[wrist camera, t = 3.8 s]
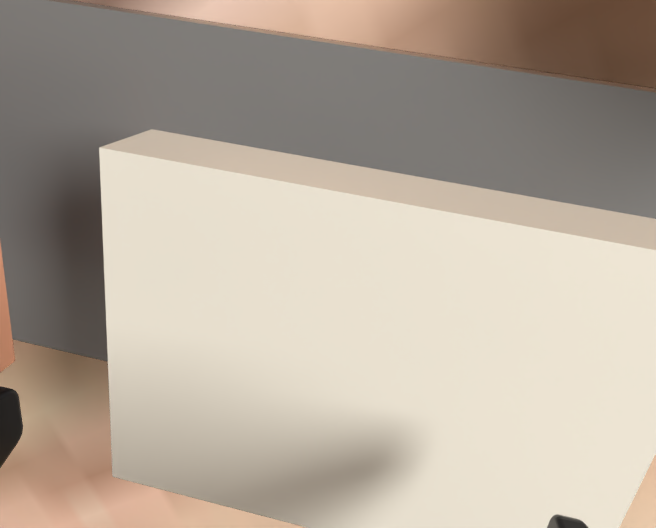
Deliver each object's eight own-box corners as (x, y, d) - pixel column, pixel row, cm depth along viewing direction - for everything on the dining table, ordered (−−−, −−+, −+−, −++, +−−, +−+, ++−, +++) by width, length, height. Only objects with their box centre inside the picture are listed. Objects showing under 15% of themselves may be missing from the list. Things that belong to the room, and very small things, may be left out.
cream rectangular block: (554, 480, 15) (583, 599, 12) (176, 390, 16) (112, 476, 13) (665, 203, 12) (747, 267, 9) (182, 118, 13) (98, 147, 10)
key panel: (554, 429, 20) (566, 468, 18) (-155, 268, 24) (-204, 288, 22) (684, 93, 15) (717, 102, 14) (-236, -46, 19) (-307, -54, 17)
